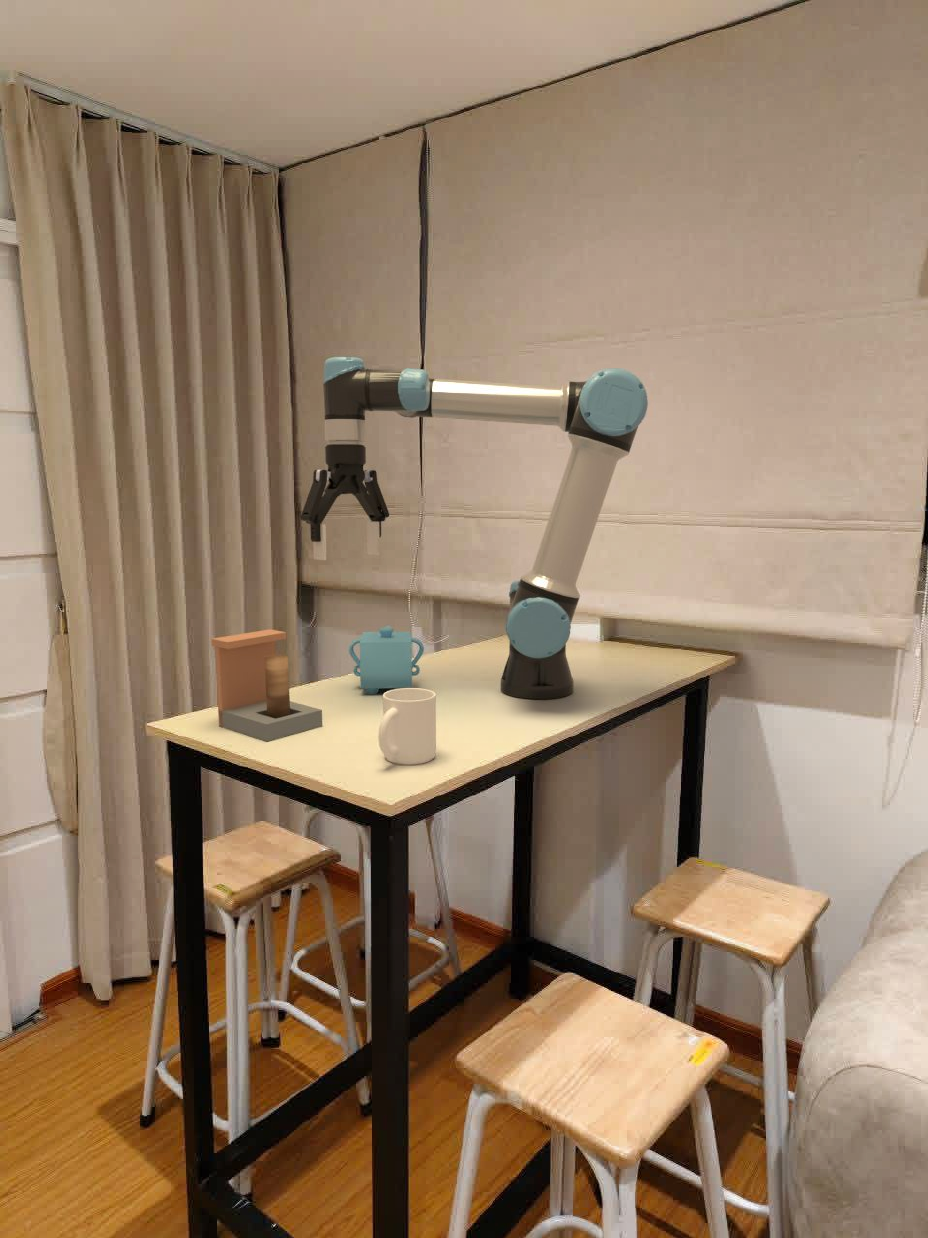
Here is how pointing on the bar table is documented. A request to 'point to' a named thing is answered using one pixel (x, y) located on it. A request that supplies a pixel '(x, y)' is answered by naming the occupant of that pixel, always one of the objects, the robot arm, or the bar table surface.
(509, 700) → the bar table surface
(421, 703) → the mug
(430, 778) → the bar table surface
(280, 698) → the walnut peg
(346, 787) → the bar table surface
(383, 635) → the teal cube teapot
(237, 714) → the socket stand
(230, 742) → the bar table surface
